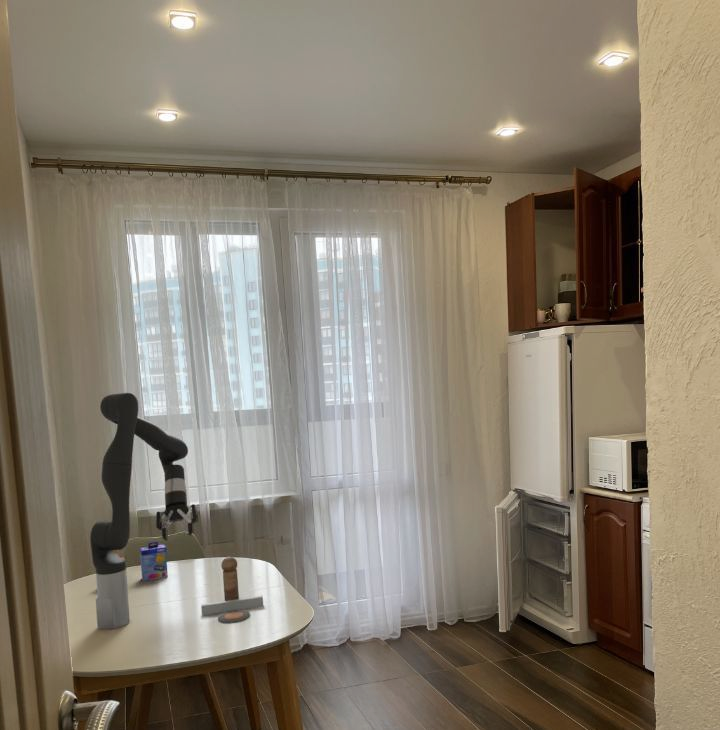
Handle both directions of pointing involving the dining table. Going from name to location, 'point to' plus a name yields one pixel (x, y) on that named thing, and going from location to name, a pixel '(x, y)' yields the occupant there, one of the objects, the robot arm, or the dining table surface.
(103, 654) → the dining table surface
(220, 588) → the dining table surface
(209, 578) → the dining table surface
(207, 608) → the low wall
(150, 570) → the ink cartridge box
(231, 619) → the pad
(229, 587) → the skittle
